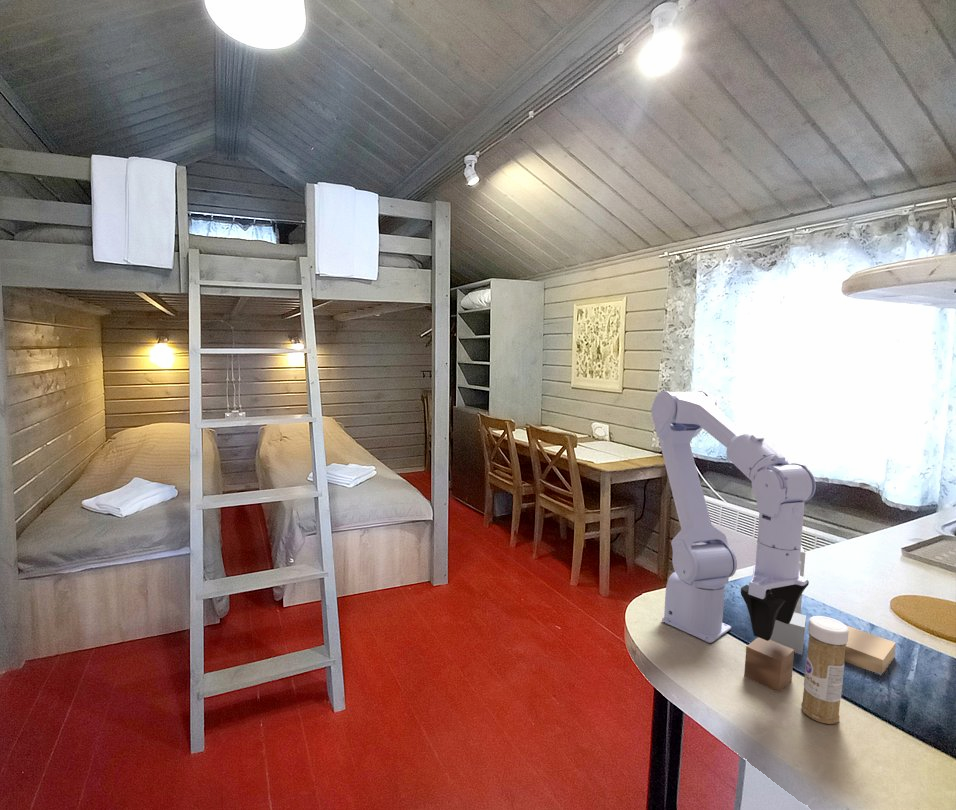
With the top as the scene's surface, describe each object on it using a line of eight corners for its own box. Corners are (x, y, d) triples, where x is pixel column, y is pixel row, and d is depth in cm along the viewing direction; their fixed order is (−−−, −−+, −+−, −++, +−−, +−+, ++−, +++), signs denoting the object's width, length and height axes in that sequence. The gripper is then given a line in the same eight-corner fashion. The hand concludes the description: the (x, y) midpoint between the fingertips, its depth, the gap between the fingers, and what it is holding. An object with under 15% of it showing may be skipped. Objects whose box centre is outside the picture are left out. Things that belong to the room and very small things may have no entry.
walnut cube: (744, 676, 80) (746, 646, 80) (757, 664, 83) (759, 635, 83) (778, 693, 76) (781, 661, 76) (791, 680, 80) (794, 649, 79)
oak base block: (822, 654, 87) (824, 638, 87) (838, 638, 92) (839, 623, 92) (881, 678, 81) (883, 660, 81) (894, 659, 86) (895, 642, 86)
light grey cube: (768, 645, 89) (770, 618, 89) (771, 633, 93) (773, 606, 93) (802, 655, 86) (804, 627, 86) (803, 642, 90) (806, 615, 90)
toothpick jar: (793, 704, 74) (801, 614, 73) (822, 702, 74) (831, 613, 73) (817, 727, 69) (826, 632, 68) (848, 725, 70) (857, 631, 69)
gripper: (789, 563, 70) (781, 657, 71) (825, 540, 79) (818, 624, 81) (736, 548, 76) (730, 636, 77) (776, 528, 85) (770, 607, 86)
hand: (772, 629), depth 79 cm, fingers open, 7 cm apart
